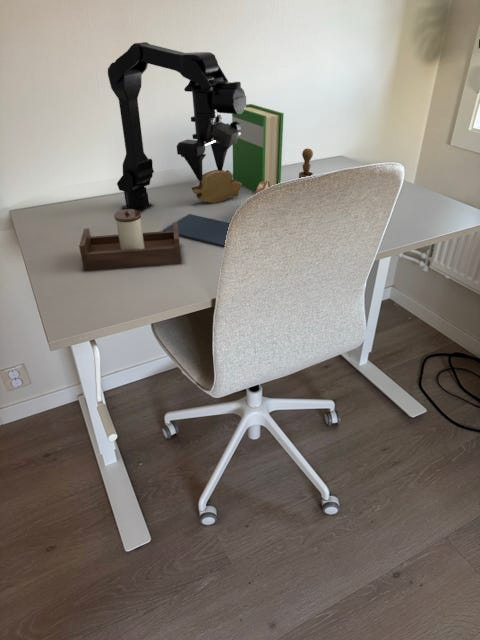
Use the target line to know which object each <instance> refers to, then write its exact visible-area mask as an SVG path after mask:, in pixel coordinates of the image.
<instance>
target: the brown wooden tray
mask: <svg viewBox="0 0 480 640" xmlns="http://www.w3.org/2000/svg"><path fill="white" fill-rule="evenodd" d="M172 224H173V231H163V230H162V231H148V232H143V239H144V246H145V248H143V249H129V250H121V248H120V242H119V237H118V234H107V235H91V232H90V228H88V227H87V228H83V231H82V235H81V238H80V241H79V244H78V248H79V253H80V257H81V262H82V267H83V271H84V272H89V271H101V270H114V269H127V268H128V269H129V268H141V267H152V266H154V267H155V266H165V265H178V264H182V255H181V243H180V236H179V233H178V224H177V221H175V222H172Z"/></svg>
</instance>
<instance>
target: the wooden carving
mask: <svg viewBox="0 0 480 640" xmlns="http://www.w3.org/2000/svg"><path fill="white" fill-rule="evenodd" d="M198 181H199V184H198V185H196V186H193V187H191V191H192V192H193V193H194V194H196V195H195V196H196V197H197V199H198V200H200V201H201V202H205V203H209V204H216V203H220V202H223V201H225V200H227V199H228V198H236V197H238V196H239V193H240V190H241V188H242V187H243V185H242V184H241V183H240V182H239V181H237V180H234V179H233V173H231V171H230V170H227V169H226V171H225V170H223V169H222V171H218V169H214V170H210V171H207V172H205V173H203V174H202V180H201V181H200V180H198Z"/></svg>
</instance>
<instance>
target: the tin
mask: <svg viewBox="0 0 480 640" xmlns="http://www.w3.org/2000/svg"><path fill="white" fill-rule="evenodd" d="M268 187H270V184H269V181H266V182H260V183H259V185H258V187H257V189H256V191H254V195H255V194H256V193H258V192H260V191H262V190H264V189H266V188H268Z"/></svg>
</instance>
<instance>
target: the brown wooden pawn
mask: <svg viewBox="0 0 480 640" xmlns="http://www.w3.org/2000/svg"><path fill="white" fill-rule="evenodd" d="M301 156H302V158H303V161H304V163H303V164H302V171H300V172H298V179H299V178H301V177H306V176H311V175H313V176H314V173H313V172H311V171H310V170H311V166H312V165H311V163H310V161H311V160H312V158H313V156H314V152H313V150H312V148H304V149H303V151H302V152H301Z"/></svg>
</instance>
